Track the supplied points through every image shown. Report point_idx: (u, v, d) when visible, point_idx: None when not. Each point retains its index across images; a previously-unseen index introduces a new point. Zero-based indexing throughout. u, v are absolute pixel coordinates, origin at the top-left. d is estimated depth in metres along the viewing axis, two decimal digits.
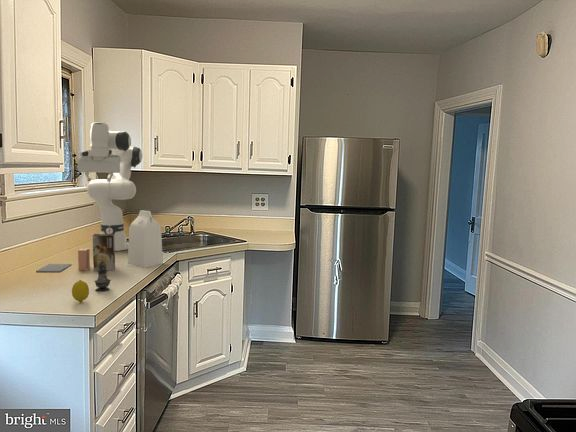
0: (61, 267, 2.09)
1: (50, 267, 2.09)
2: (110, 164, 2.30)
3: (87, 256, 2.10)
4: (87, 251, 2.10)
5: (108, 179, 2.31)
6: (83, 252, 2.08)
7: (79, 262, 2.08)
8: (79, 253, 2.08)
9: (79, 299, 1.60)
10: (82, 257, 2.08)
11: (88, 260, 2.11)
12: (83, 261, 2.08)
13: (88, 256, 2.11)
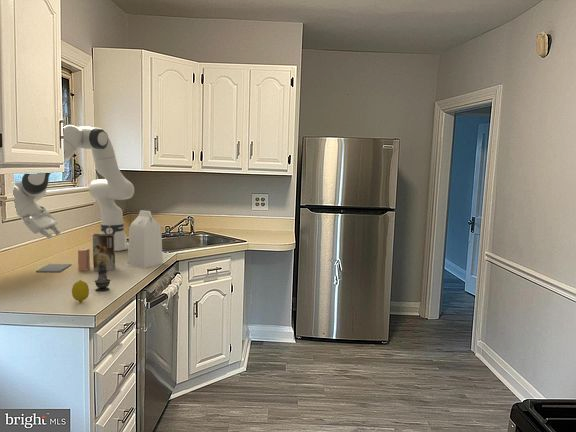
0: (61, 267, 2.09)
1: (50, 267, 2.09)
2: None
3: (87, 256, 2.10)
4: (87, 251, 2.10)
5: None
6: (83, 252, 2.08)
7: (79, 262, 2.08)
8: (79, 253, 2.08)
9: (79, 299, 1.60)
10: (82, 257, 2.08)
11: (88, 260, 2.11)
12: (83, 261, 2.08)
13: (88, 256, 2.11)
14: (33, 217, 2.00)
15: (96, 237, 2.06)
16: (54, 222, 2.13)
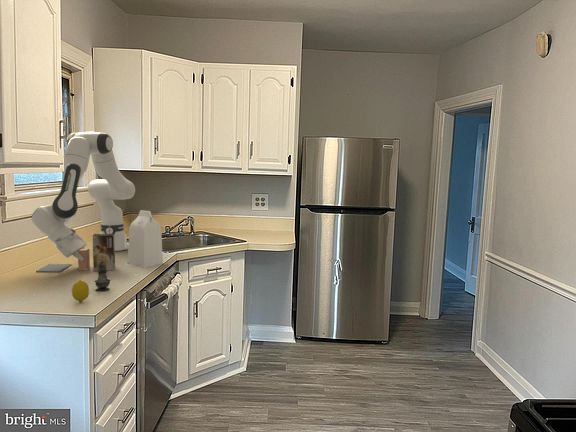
0: (61, 267, 2.09)
1: (50, 267, 2.09)
2: None
3: (87, 256, 2.10)
4: (87, 251, 2.10)
5: None
6: (83, 252, 2.08)
7: (79, 262, 2.08)
8: (79, 253, 2.08)
9: (79, 299, 1.60)
10: None
11: (88, 260, 2.11)
12: (83, 261, 2.08)
13: (88, 256, 2.11)
14: (65, 241, 2.02)
15: (96, 237, 2.06)
16: (84, 244, 2.16)
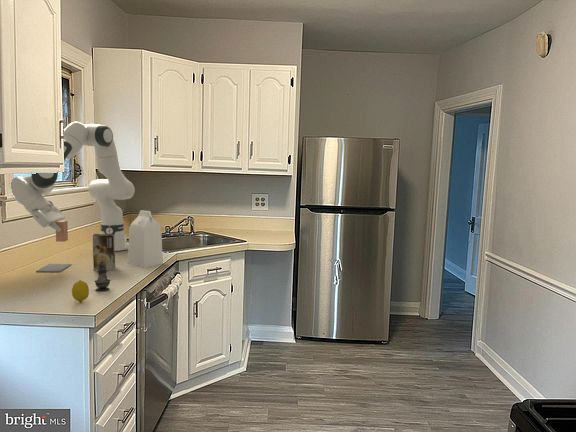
0: (61, 267, 2.09)
1: (50, 267, 2.09)
2: None
3: (65, 228, 2.07)
4: (65, 222, 2.07)
5: None
6: (61, 223, 2.05)
7: (57, 233, 2.05)
8: (57, 224, 2.05)
9: (79, 299, 1.60)
10: None
11: (66, 232, 2.08)
12: (61, 232, 2.05)
13: (66, 228, 2.08)
14: (42, 211, 2.00)
15: (96, 237, 2.06)
16: (62, 216, 2.13)
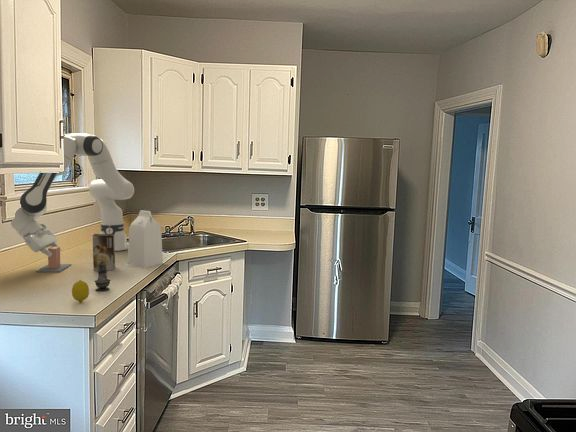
0: (61, 267, 2.09)
1: None
2: None
3: (57, 254, 2.08)
4: (57, 249, 2.08)
5: None
6: (53, 250, 2.06)
7: (49, 260, 2.07)
8: None
9: (79, 299, 1.60)
10: (52, 255, 2.06)
11: (58, 258, 2.10)
12: (53, 259, 2.07)
13: (58, 254, 2.10)
14: (34, 236, 2.01)
15: (96, 237, 2.06)
16: (54, 239, 2.14)
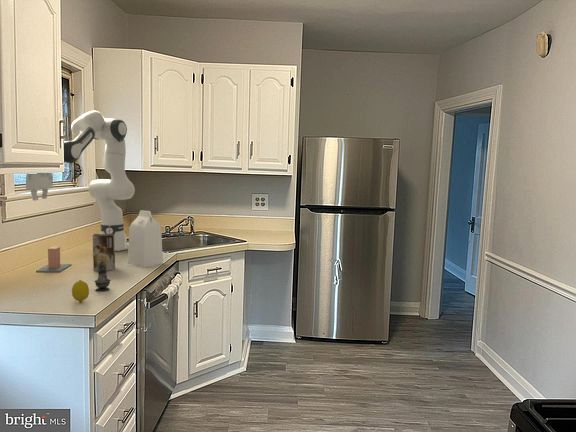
0: (61, 267, 2.09)
1: None
2: None
3: (57, 254, 2.08)
4: (57, 249, 2.08)
5: None
6: (53, 250, 2.06)
7: (49, 260, 2.07)
8: (49, 251, 2.06)
9: (79, 299, 1.60)
10: (52, 255, 2.06)
11: (58, 258, 2.10)
12: (53, 259, 2.07)
13: (58, 254, 2.10)
14: (37, 176, 2.02)
15: (96, 237, 2.06)
16: (49, 186, 2.15)
